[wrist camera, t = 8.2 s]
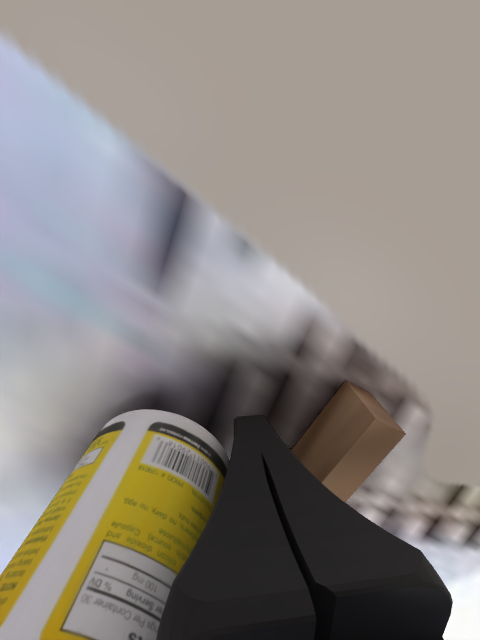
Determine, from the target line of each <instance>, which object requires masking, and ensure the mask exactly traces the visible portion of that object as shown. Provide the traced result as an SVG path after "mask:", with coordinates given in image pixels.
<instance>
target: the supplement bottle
mask: <svg viewBox="0 0 480 640" xmlns="http://www.w3.org/2000/svg"><path fill="white" fill-rule="evenodd" d="M228 465H229V458H228V456H227V454H226V452H225V450H224V448H223V447H222V445H221V444H220V443H219V441H218V440H217V439H216V438H215V437H214V436H213V435H212V434H211V433H210V432H208V431H207V430H206V429H205V428H203V427H202V426H200V425H199V424H197V423H196V422H194V421H192V420H190V419H188V418H186V417H183V416H181V415H178V414H175V413H171V412H166V411H161V410H150V409H142V410H134V411H129V412H126V413H123V414H120V415H118V416H116V417H115V418H113V419H111V420H110V421H109V422H108V423H107V424H106V425H105V426H104V427H103V428H102V429H101V431H100V432H99V433H98V435H97V436H96V437H95V439H94V440H93V442H92V443H91V445H90V446H89V447H88V449H87V450H86V452H85V453H84V455H83V456H82V457H81V459H80V460H79V462H78V463H77V465H76V466H75V468H74V469H73V471H72V472H71V474H70V475H69V477H68V478H67V480H66V481H65V483H64V484H63V485H62V487H61V488H60V490H59V491H58V493H57V494H56V495H55V497H54V498H53V500H52V501H51V503H50V504H49V506H48V507H47V508H46V510H45V511H44V513H43V514H42V516H41V517H40V519H39V520H38V522H37V523H36V525H35V526H34V527H33V529H32V530H31V532H30V533H29V535H28V536H27V537H26V539H25V540H24V542H23V543H22V545H21V546H20V548H19V549H18V551H17V552H16V553H15V555H14V556H13V558H12V560H11V561H10V562H9V564H8V565H7V567H6V568H5V570H4V571H3V573H2V574H1V575H0V640H156V637H157V632H158V628H159V624H160V620H161V617H162V613H163V610H164V607H165V604H166V601H167V598H168V595H169V592H170V589H171V586H172V583H173V581H174V579H175V578H176V576H177V575H178V573H179V571H180V570H181V568H182V567H183V565H184V563H185V562H186V560H187V559H188V557H189V555H190V554H191V552H192V550H193V548H194V546H195V545H196V543H197V541H198V539H199V537H200V535H201V533H202V531H203V529H204V528H205V526H206V523H207V521H208V519H209V517H210V515H211V513H212V510H213V508H214V506H215V503H216V501H217V498H218V496H219V493H220V491H221V488H222V485H223V482H224V479H225V476H226V472H227V469H228Z"/></svg>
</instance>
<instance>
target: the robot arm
mask: <svg viewBox="0 0 480 640" xmlns="http://www.w3.org/2000/svg"><path fill="white" fill-rule="evenodd" d="M452 603H453V602H452V598H451V594H450V593H449V591H448V589H447V588H446V586H445V585H444V583H443V581H442V580H441V578H440V577H439V575H438V574H437V572H436V571H435V569H434V568H433V566H432V565H431V564H430V563H429V561H428V560H427V559H426V557H425V556H424V555H423V553H422V552H421V551H420V550H419V549H417V548H415V547H413V546H412V545H410V544H408V543H406V542H405V541H403V540H401V539H399V538H397V537H396V536H394V535H392V534H390V533H389V532H387V531H385V530H384V529H382V528H381V527H379V526H378V525H376V524H375V523H373V522H371V521H370V520H368V519H367V518H365V517H364V516H363V515H361V514H360V513H358V512H357V511H356V510H354V509H353V508H352V507H350V506H349V505H348V504H346V503H345V502H344V501H342V500H341V499H340V498H338V497H337V496H336V495H335V494H334V493H332V492H331V491H330V490H329V489H328V488H327V487H326V486H324V485H323V484H322V483H321V482H320V481H319V480H318V479H317V478H316V477H315V476H314V475H313V474H312V473H311V472H310V471H309V470H308V469H307V468H306V467H305V466H304V465H303V464H302V463H301V462H300V461H299V460H298V459H297V458H296V456H295V455H294V454H293V453H292V452H291V451H290V449H289V448H288V447H287V446H286V445H285V444H284V442H283V441H282V440H281V439H280V437H279V436H278V435H277V433H276V432H275V431H274V429H273V428H272V426H271V425H270V424H269V422H268V421H267V419H266V418H265V417H264V416H263V415H254V416H241V417H236V418H235V419H234V443H233V448H232V453H231V458H230V462H229V465H228V469H227V472H226V476H225V479H224V482H223V485H222V488H221V491H220V493H219V496H218V498H217V501H216V503H215V506H214V508H213V510H212V513H211V515H210V517H209V519H208V521H207V523H206V526H205V528H204V529H203V531H202V533H201V535H200V537H199V539H198V541H197V543H196V545H195V546H194V548H193V550H192V552H191V554H190V555H189V557H188V559H187V560H186V562H185V563H184V565H183V567H182V568H181V570H180V571H179V573H178V575H177V576H176V578H175V579H174V581H173V583H172V586H171V589H170V592H169V595H168V598H167V601H166V604H165V607H164V610H163V613H162V617H161V620H160V624H159V628H158V632H157V637H156V640H444V639H443V637H442V636H443V633H444V630H445V628H446V625H447V622H448V620H449V617H450V614H451V609H452Z"/></svg>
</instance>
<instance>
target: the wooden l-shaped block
mask: <svg viewBox="0 0 480 640" xmlns="http://www.w3.org/2000/svg"><path fill="white" fill-rule="evenodd" d="M405 434H406V433H405V432H404V431H403V430H402V429H401V428H400V426H399V425H398V424H397V423H396V422H395V421H394V419H393V418H392V417H391V416H390V415H389V414H388V413H387V411H386V410H385V409H384V408H383V407H382V406H381V404H380V403H379V402H378V401H377V400H376V399H375V397H374V396H373V395H372V394H370V393H368V392H366V391H364V390H363V389H361V388H359V387H357V386H355V385H353V384H351V383H349V382H348V381H345V382H344V383H343V385H342V386H341V387H340V388H339V390H338V391H337V392H336V394H335V395H334V396H333V397H332V399H331V400H330V401H329V403H328V404H327V405H326V406H325V408H324V409H323V410H322V412H321V413H320V414H319V415H318V417H317V418H316V419H315V420H314V422H313V423H312V424H311V426H310V427H309V428H308V429H307V431H306V432H305V433H304V435H303V436H302V437H301V438H300V440H299V441H298V442H297V443H296V445H295V446H294V447H293V449H292V450H291V452H292V453H293V454H294V455H295V456H296V458H297V459H298V460H299V461H300V462H301V463H302V464H303V465H304V466H305V467H306V468H307V469H308V470H309V471H310V472H311V473H312V474H313V475H314V476H315V477H316V478H317V479H318V480H319V481H320V482H321V483H322V484H323V485H324V486H326V487H327V488H328V489H329V490H330V491H331V492H332V493H334V494H335V495H336V496H337V497H338V498H340V499H341V500H342V501H344V502H346V501H347V500H348V499H349V498H350V496H351V495H352V494H353V493H354V492H355V491H356V490H357V489H358V487H359V486H360V485H361V484H362V483H363V482H364V481H365V479H366V478H367V477H368V476H369V475H370V474H371V473H372V472H373V470H374V469H375V468H376V467H377V466H378V465H379V464H380V463H381V461H382V460H383V459H384V458H385V457H386V456H387V455H388V454H389V452H390V451H391V450H392V449H393V448H394V447H395V446H396V445H397V443H398V442H399V441H400V440H401V439H402V438H403V437H404V435H405Z"/></svg>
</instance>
